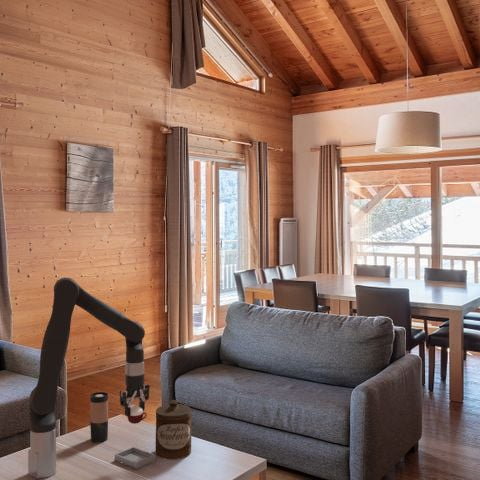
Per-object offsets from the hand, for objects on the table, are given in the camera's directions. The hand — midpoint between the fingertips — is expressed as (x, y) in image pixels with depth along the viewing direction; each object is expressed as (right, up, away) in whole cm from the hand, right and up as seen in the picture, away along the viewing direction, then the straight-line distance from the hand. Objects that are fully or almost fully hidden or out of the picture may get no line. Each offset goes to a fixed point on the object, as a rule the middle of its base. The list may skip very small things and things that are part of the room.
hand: (134, 413), depth 229 cm
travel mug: (-20, -18, +22) cm, 35 cm away
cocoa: (0, -4, 0) cm, 4 cm away
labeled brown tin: (+14, -19, +10) cm, 26 cm away
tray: (0, -19, +1) cm, 19 cm away
